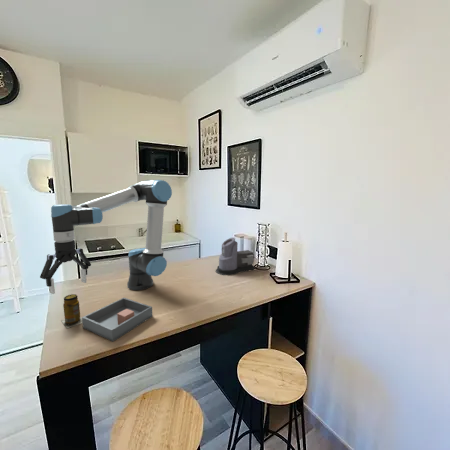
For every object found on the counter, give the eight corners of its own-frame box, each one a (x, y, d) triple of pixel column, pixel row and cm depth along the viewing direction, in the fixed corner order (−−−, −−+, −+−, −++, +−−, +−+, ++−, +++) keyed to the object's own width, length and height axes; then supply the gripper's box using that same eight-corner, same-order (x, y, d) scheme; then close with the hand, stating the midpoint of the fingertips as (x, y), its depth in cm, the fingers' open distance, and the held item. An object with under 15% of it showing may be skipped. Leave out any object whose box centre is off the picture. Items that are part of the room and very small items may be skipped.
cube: (117, 324, 108) (117, 313, 107) (127, 318, 112) (126, 308, 112) (125, 327, 106) (124, 316, 105) (134, 321, 110) (134, 311, 109)
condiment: (79, 315, 117) (76, 291, 115) (85, 322, 111) (82, 297, 109) (61, 321, 112) (58, 296, 110) (66, 328, 106) (63, 303, 104)
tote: (82, 327, 107) (81, 317, 106) (124, 306, 126) (123, 297, 125) (112, 341, 98) (111, 330, 97) (152, 316, 116) (152, 306, 115)
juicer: (220, 276, 167) (220, 241, 163) (212, 269, 182) (212, 237, 178) (258, 270, 179) (259, 238, 176) (247, 264, 194) (248, 233, 190)
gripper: (35, 247, 93) (41, 300, 96) (97, 236, 114) (100, 279, 118) (26, 245, 96) (32, 296, 100) (87, 234, 118) (90, 276, 121)
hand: (69, 287), depth 109 cm, fingers open, 13 cm apart
